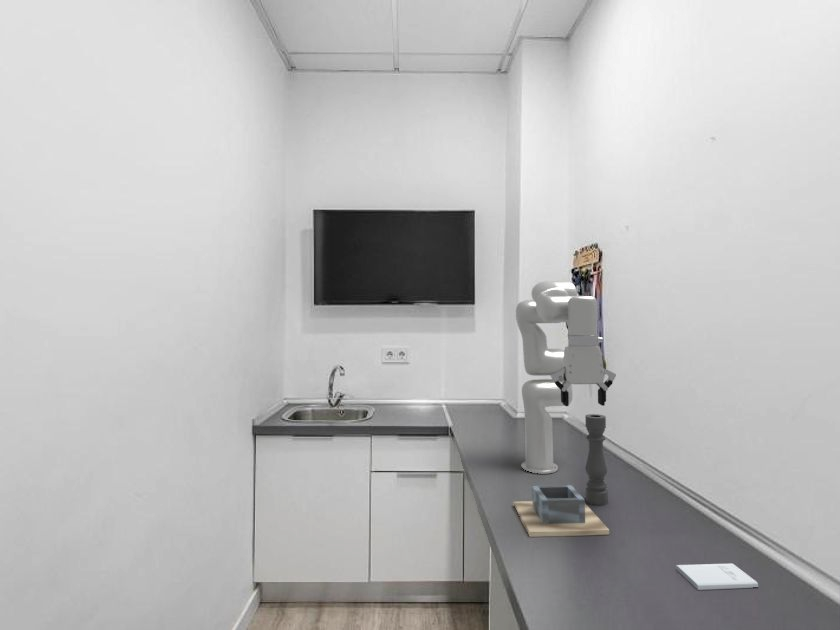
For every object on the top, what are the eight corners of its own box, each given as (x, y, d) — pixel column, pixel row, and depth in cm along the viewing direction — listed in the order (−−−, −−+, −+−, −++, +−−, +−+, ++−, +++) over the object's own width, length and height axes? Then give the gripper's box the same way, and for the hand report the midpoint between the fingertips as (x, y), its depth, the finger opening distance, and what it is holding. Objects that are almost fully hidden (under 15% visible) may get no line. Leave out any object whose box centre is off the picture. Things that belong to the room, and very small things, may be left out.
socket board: (513, 505, 145) (513, 480, 145) (582, 504, 146) (581, 479, 146) (529, 536, 125) (529, 508, 125) (609, 534, 126) (608, 506, 126)
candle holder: (593, 506, 144) (592, 419, 144) (581, 498, 150) (580, 414, 150) (612, 503, 146) (611, 417, 145) (599, 496, 151) (598, 413, 151)
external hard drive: (675, 571, 109) (731, 569, 109) (698, 592, 101) (758, 590, 101) (675, 564, 109) (731, 561, 109) (697, 584, 101) (758, 582, 101)
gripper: (609, 340, 139) (610, 401, 140) (547, 341, 139) (548, 402, 140) (620, 342, 132) (621, 407, 132) (554, 343, 132) (555, 408, 132)
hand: (583, 404), depth 136 cm, fingers open, 9 cm apart
